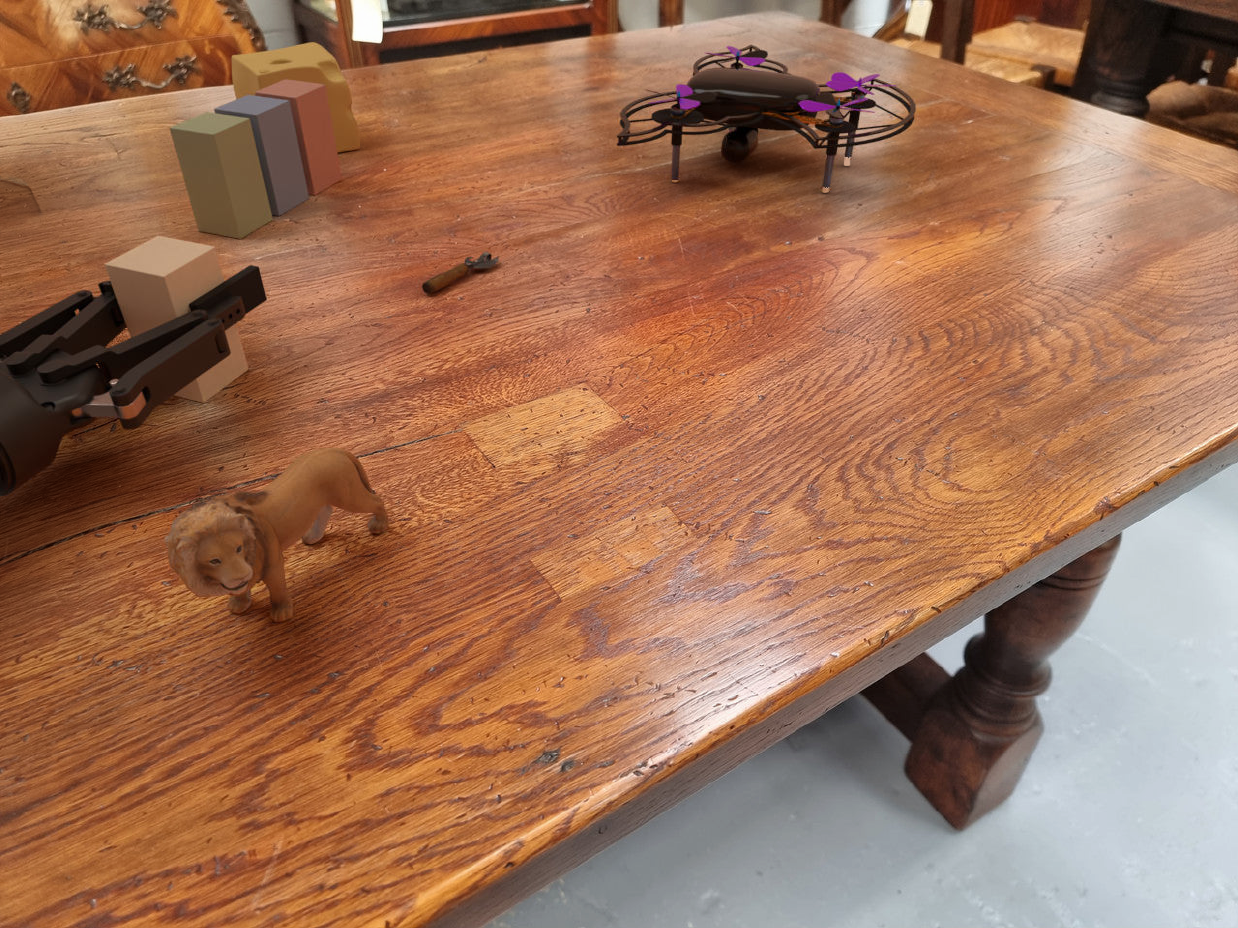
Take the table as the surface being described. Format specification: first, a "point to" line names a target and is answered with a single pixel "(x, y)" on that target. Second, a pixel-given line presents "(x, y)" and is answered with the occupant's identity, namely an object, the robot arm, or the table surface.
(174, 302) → the block
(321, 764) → the table surface
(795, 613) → the table surface
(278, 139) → the block
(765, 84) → the drone
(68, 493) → the table surface
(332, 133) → the block
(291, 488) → the lion figurine
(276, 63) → the cheese
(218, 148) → the block
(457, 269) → the can opener
